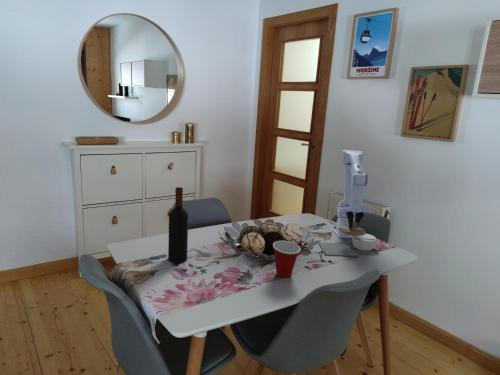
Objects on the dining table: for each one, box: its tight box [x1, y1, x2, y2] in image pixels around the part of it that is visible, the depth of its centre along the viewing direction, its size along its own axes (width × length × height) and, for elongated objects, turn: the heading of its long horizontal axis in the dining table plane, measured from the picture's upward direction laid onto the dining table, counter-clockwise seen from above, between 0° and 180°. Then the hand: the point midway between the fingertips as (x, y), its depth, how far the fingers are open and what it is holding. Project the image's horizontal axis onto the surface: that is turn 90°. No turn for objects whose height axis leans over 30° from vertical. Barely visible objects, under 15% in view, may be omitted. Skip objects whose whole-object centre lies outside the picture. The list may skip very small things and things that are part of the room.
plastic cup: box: [272, 240, 302, 279], centre depth 145 cm, size 11×11×12 cm
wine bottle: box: [167, 186, 189, 264], centre depth 150 cm, size 8×8×30 cm
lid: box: [339, 220, 367, 236], centre depth 175 cm, size 12×12×5 cm
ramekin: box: [351, 232, 377, 252], centre depth 180 cm, size 11×11×5 cm
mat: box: [317, 242, 357, 257], centre depth 175 cm, size 14×14×1 cm
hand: (352, 227), depth 175 cm, fingers closed on lid
